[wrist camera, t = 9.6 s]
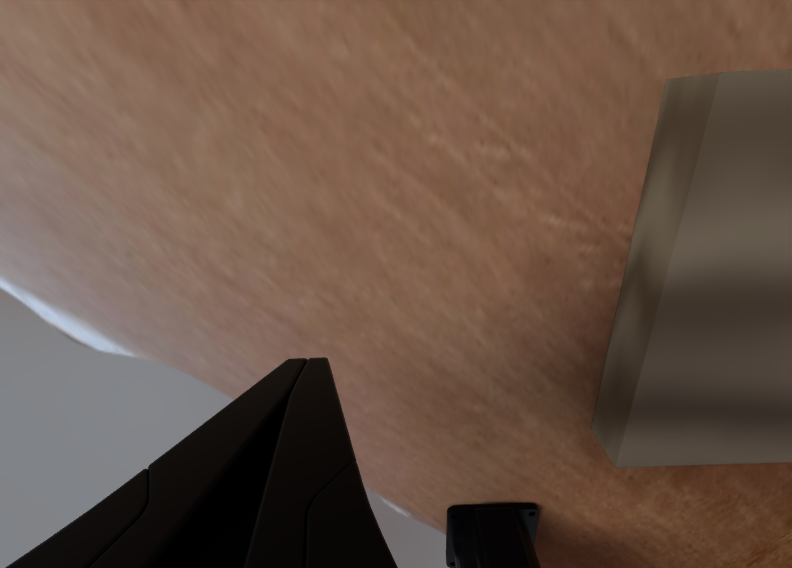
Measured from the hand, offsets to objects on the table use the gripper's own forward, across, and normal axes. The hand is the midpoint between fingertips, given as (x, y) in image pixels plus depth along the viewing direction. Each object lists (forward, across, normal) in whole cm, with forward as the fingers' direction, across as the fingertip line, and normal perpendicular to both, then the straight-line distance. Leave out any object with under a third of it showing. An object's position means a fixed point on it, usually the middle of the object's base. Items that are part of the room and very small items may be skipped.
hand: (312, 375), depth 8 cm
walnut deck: (+12, -21, +4) cm, 24 cm away
